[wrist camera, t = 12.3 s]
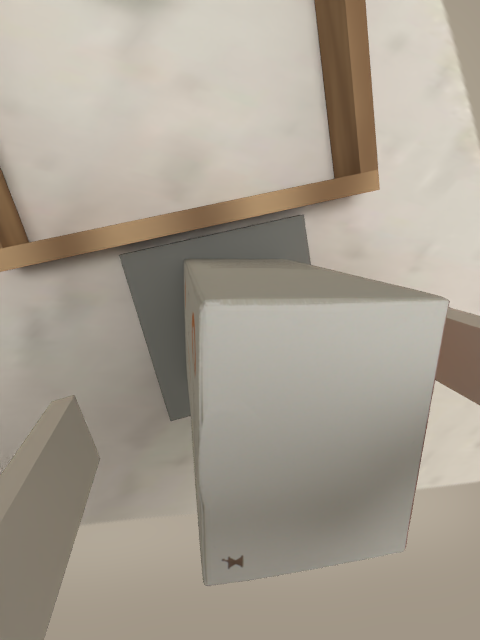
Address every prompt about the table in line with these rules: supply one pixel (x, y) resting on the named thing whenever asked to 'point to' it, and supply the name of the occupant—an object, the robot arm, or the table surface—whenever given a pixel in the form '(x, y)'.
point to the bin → (350, 179)
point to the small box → (304, 413)
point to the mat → (168, 291)
